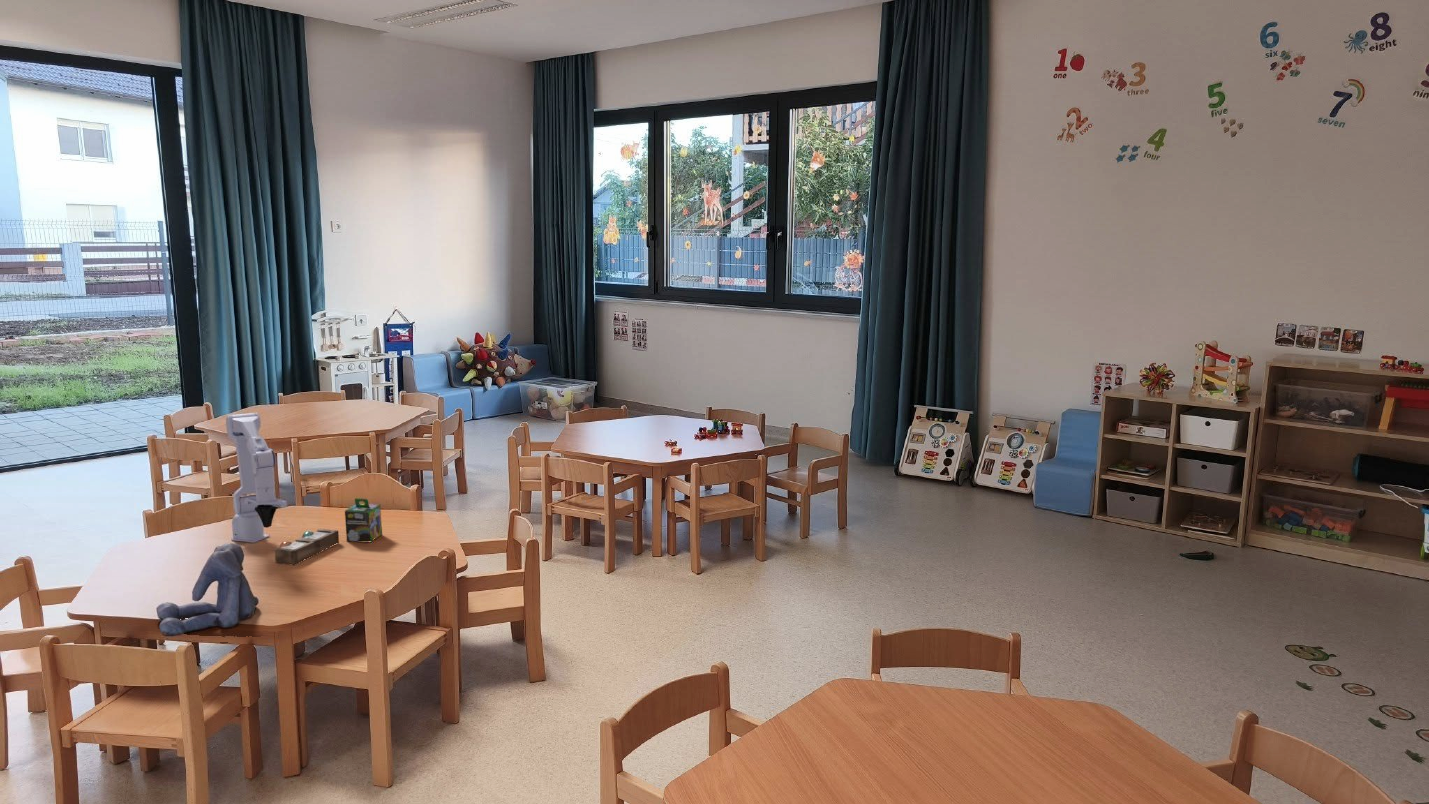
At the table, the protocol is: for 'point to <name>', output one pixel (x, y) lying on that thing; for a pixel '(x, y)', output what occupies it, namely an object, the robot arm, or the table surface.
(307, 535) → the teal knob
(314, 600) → the table surface
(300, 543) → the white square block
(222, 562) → the elephant
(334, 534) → the grey brown divided tray
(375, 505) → the chalk box
